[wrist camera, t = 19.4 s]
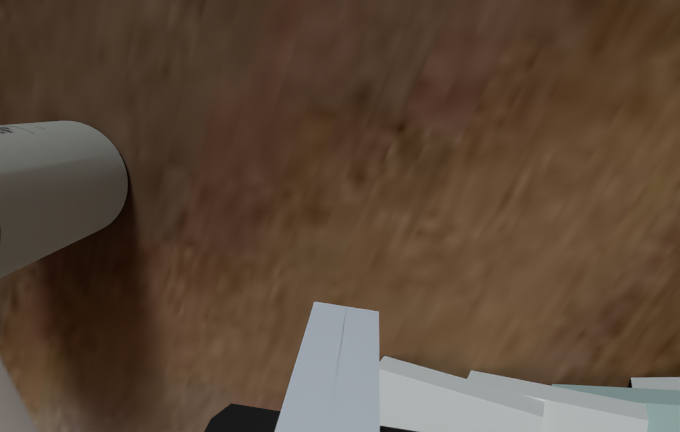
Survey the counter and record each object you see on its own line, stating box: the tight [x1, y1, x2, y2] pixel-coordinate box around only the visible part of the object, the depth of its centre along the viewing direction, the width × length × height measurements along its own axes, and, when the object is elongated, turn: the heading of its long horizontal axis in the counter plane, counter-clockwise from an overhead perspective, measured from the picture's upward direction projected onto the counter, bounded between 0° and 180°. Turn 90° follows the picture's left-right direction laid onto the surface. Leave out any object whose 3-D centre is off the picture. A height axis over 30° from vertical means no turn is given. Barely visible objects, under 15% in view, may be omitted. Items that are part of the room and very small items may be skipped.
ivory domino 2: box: [467, 370, 648, 432], centre depth 36 cm, size 2×5×11 cm
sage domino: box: [552, 384, 680, 432], centre depth 35 cm, size 2×5×11 cm
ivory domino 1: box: [379, 356, 545, 432], centre depth 36 cm, size 2×5×11 cm
